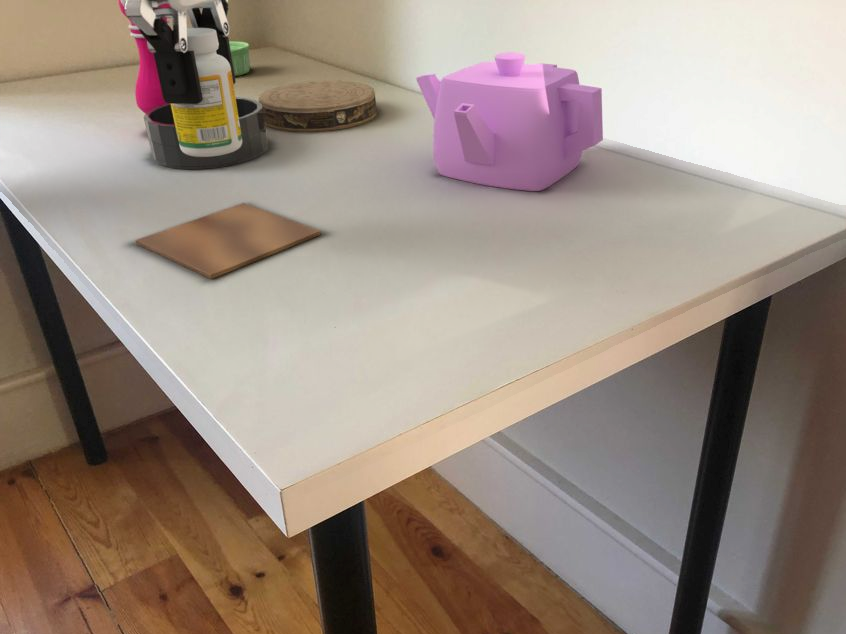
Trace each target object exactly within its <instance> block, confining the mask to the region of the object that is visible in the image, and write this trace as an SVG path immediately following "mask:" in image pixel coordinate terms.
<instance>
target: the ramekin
mask: <svg viewBox="0 0 846 634" xmlns="http://www.w3.org/2000/svg"><path fill="white" fill-rule="evenodd" d="M229 44H230V50H231V56H232V62H233V68H234V74H235V77H239V76H242V75H245V74H248V73H249V72H250V70H251V63H250V44H249V43H248V42H246V41H245V42H244V41H233V40H232V41H230V40H229Z"/></svg>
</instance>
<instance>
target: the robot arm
mask: <svg viewBox="0 0 846 634" xmlns="http://www.w3.org/2000/svg"><path fill="white" fill-rule="evenodd" d="M121 3H122V4H123V6H124V7H125V13H126V15H127V17H128V18H129V19H130V20H131V21H132V22H133V23H134V24H135V25H136V26H137V27H138V28H139V30H140V32H141V34H142V35H143V36H144V37H145V39H146V40H147V46H148V49H149V51H150V52H152V53H153V54H154V59H155V63H156V68H157V72H158V77H159V82H160V86H161V91H162V96H163V99H164V101H165V102H166V103H171V104H198V103H200V102H202V100H203V97H202V92H201V86H200V81H199V76H198V71H197V65H196V60H195V55H194V51H187V49H188V42H187V28H188V20H187V17H188V18H189V21H190V24H191V28H210V29H214V30H216V33H217V38H218V43H219V45H218V49H217V50H216V53H217V54H218V55H221V56H223V57H224V58H226V59H227V61H228V62H229V64H230V67H231V73H232V78H233V85H235V84H236V82H237V81H236V76H235V74H234V68H233V62H232V56H231V50H230V44H229V41H230V39H229V35H230V24H229V21H228V17H227V16H228V11H229V9H230V8H229V4H228V3H229V0H121ZM166 3H167V4H169V5H170V6H171V7H158V6H159V5H162V4H166ZM201 10H202V11H201ZM187 15H188V16H187ZM127 17H126V18H127ZM128 18H127V19H128ZM160 18H167V19H172V27H171V25H170V26H169V25H168V24H167V23H166V21H165V20H164V19H160ZM129 19H128V20H129ZM130 20H129V21H130ZM170 27H171V28H170Z"/></svg>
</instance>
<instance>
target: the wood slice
mask: <svg viewBox="0 0 846 634" xmlns="http://www.w3.org/2000/svg"><path fill="white" fill-rule="evenodd" d="M376 101H377V100H376V90H375V88H374V87H372V86H371V85H369V84H366V83H362V82H357V81H347V80H314V81H313V80H312V81H305V82H304V81H302V82H295V83H289V84H284V85H279V86H275V87H273V88H271V89H270V88H269V89H267V90H265V91H264V92H262V93H261V94H259V96H258V102H259V103H261V104H262V108H263V115H264V121H265V127H269V128H272V129H274V130H280V131H287V132H301V133H302V132H303V133H304V132H305V133H312V132H314V133H315V132H327V131H329V132H330V131H334V130H335V131H336V130H342V129H343V130H344V129H349V128H353V127H356V126H359V125H363V124H365V123H367V122H369V121H372V120H373V119H374V118H375V117H376V116H377V115H378V114H377V113H378V112H377V102H376Z"/></svg>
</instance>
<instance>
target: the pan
mask: <svg viewBox="0 0 846 634" xmlns="http://www.w3.org/2000/svg"><path fill="white" fill-rule="evenodd" d="M235 98H236V104H237V111H238V117H239V123H240V129H241V136H242V145H241V147H240V148H239V149H237V150H236V151H234V152H231V153H228V154H224V155H219V156H210V157H196V156H190V155H187V154H185V153H183V152H182V151H181V149H180V145H179V141H178V137H177V132H176V127H175V122H174V118H173V113H172V108H171V103H168V104H164V105H161V106H158V107H155V108H153V109H151V110H150V111H148V112H146V113H144V116H143V121H144V126H145V130H146V134H147V138H148V142H149V147H150V152H151V156H152V158H153V160H154V162H155V163H156V164H158V165H160V166H162V167H166V168H171V169H177V170H206V169H207V170H208V169H217V168H224V167H225V168H226V167H230V166H234V165H235V166H236V165H240V164H243V163H246V162H249V161H253V160H254V159H257V158H258V157H261V156H262V155H264V154H265V153H266V152H267V150H268V149H269V142H268V135H267V128H266V125H265V121H264V115H263V108H262V104H261V103H259V100H256V99H251V98H248V97H242V96H241V97H240V96H235Z"/></svg>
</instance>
